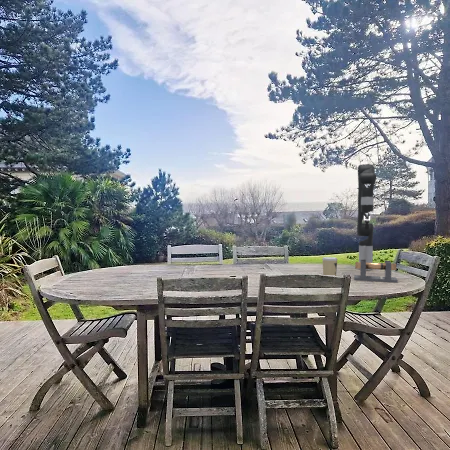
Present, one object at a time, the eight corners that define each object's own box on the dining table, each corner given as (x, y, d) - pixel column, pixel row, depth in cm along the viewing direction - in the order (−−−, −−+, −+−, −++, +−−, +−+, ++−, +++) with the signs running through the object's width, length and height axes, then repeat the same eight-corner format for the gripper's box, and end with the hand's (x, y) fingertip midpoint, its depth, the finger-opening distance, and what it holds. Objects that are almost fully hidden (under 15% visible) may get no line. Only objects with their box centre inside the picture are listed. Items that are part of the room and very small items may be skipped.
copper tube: (355, 269, 232) (355, 262, 232) (355, 267, 236) (355, 261, 236) (396, 271, 224) (396, 264, 224) (395, 269, 228) (395, 263, 228)
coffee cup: (338, 278, 237) (338, 258, 236) (322, 277, 238) (323, 258, 238) (336, 275, 246) (336, 257, 246) (321, 275, 248) (321, 256, 247)
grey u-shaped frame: (354, 277, 239) (354, 259, 239) (396, 279, 231) (396, 261, 231) (354, 280, 230) (354, 261, 229) (397, 282, 222) (397, 263, 221)
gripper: (360, 204, 251) (360, 229, 251) (360, 204, 237) (360, 229, 238) (373, 204, 248) (372, 229, 249) (373, 204, 235) (373, 230, 235)
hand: (366, 229), depth 243 cm, fingers open, 8 cm apart
